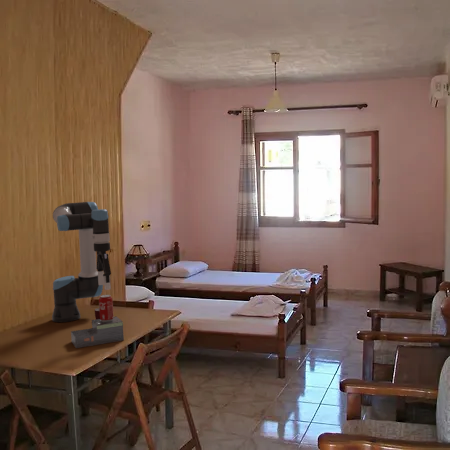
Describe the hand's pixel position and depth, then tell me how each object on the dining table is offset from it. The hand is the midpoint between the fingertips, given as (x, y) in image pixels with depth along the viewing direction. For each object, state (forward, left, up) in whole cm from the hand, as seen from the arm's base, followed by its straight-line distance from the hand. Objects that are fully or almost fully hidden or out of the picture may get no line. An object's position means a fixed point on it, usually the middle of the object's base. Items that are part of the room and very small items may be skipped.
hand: (104, 287), depth 261 cm
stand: (0, -5, -27) cm, 27 cm away
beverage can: (0, 0, -16) cm, 16 cm away
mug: (-21, +2, -25) cm, 33 cm away
